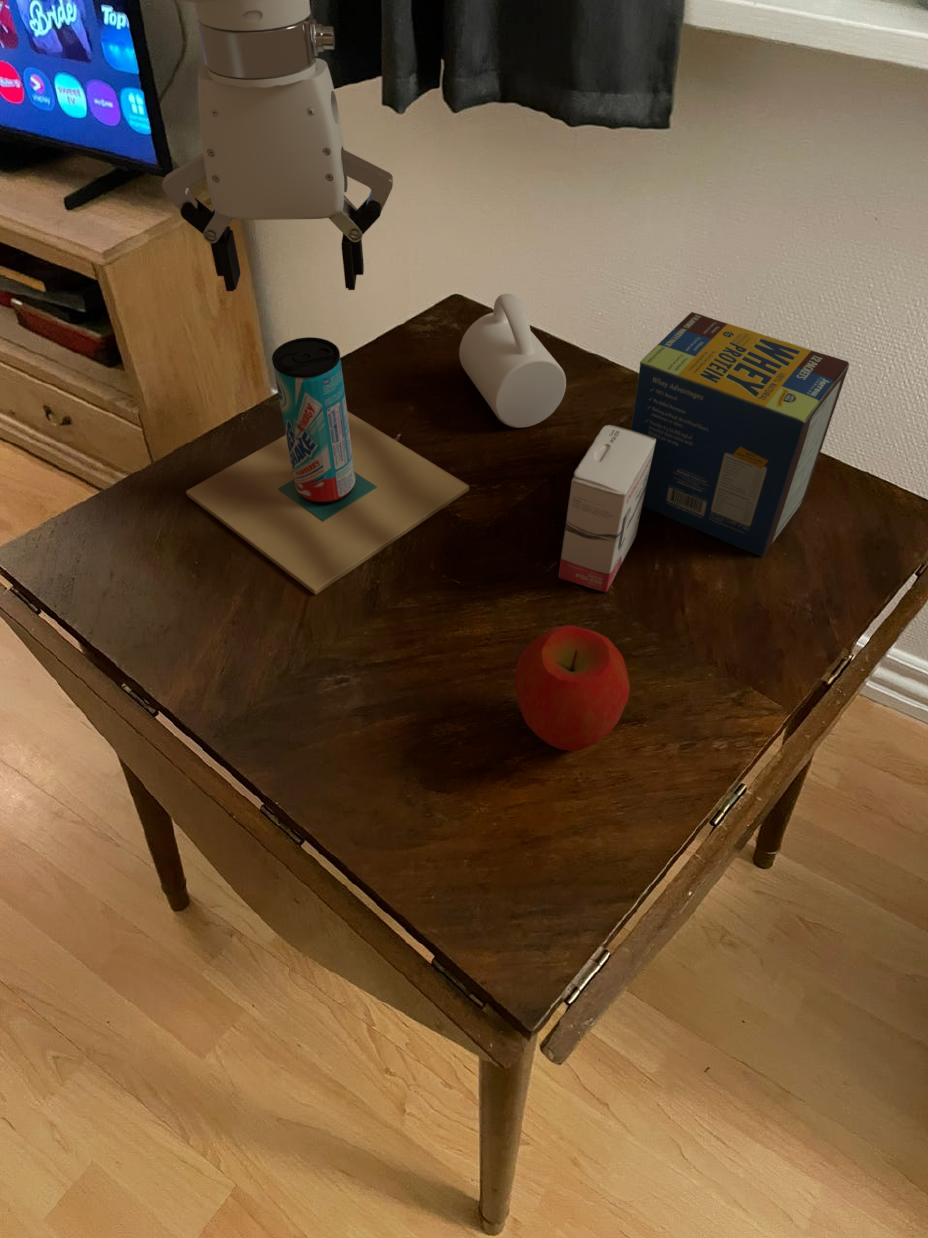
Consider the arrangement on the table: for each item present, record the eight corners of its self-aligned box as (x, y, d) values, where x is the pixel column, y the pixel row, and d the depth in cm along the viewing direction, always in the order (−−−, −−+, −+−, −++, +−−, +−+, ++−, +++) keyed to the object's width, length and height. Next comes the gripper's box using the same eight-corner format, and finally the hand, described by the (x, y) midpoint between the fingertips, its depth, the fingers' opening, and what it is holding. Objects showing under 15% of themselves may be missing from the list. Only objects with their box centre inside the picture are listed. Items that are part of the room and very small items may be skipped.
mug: (493, 436, 99) (495, 335, 90) (458, 384, 105) (457, 285, 97) (564, 419, 101) (572, 318, 92) (525, 369, 107) (530, 270, 99)
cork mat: (315, 595, 84) (314, 589, 83) (186, 495, 93) (185, 490, 92) (469, 490, 93) (469, 484, 93) (338, 409, 103) (337, 404, 102)
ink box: (609, 596, 83) (625, 494, 74) (556, 579, 85) (566, 477, 76) (640, 536, 88) (658, 434, 80) (589, 521, 90) (602, 419, 81)
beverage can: (292, 474, 94) (268, 342, 83) (350, 464, 95) (334, 332, 84) (300, 512, 90) (275, 378, 79) (361, 501, 91) (344, 368, 80)
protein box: (665, 444, 98) (690, 309, 86) (806, 499, 92) (853, 361, 80) (616, 498, 92) (636, 360, 81) (763, 560, 86) (807, 421, 75)
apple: (490, 722, 74) (491, 632, 66) (576, 677, 77) (587, 586, 69) (552, 802, 69) (562, 715, 61) (642, 751, 72) (662, 662, 64)
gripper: (387, 28, 66) (399, 260, 79) (143, 30, 66) (195, 261, 79) (383, 63, 61) (397, 304, 74) (118, 65, 61) (178, 306, 74)
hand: (292, 282), depth 76 cm, fingers open, 9 cm apart
